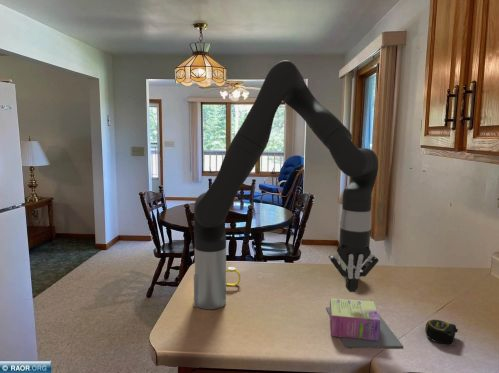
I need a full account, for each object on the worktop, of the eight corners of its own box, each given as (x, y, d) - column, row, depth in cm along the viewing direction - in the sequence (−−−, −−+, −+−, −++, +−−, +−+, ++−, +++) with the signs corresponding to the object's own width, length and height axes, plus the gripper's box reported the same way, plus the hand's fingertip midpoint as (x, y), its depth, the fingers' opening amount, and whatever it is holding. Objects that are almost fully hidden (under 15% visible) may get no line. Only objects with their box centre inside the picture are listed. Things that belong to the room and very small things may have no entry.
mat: (345, 347, 90) (345, 346, 90) (325, 308, 109) (326, 307, 109) (403, 347, 90) (403, 345, 90) (373, 308, 110) (373, 307, 110)
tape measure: (452, 350, 90) (453, 335, 89) (421, 340, 94) (423, 326, 93) (457, 337, 95) (458, 324, 94) (427, 329, 99) (429, 315, 99)
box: (330, 336, 94) (379, 341, 92) (331, 315, 93) (380, 319, 91) (328, 317, 104) (373, 320, 102) (329, 297, 103) (374, 300, 101)
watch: (221, 286, 124) (222, 269, 123) (222, 283, 127) (222, 266, 126) (240, 287, 124) (240, 269, 123) (240, 283, 127) (240, 266, 126)
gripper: (333, 230, 92) (329, 297, 94) (386, 230, 92) (381, 297, 95) (326, 222, 99) (323, 285, 102) (375, 223, 99) (371, 285, 102)
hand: (351, 290), depth 98 cm, fingers closed
